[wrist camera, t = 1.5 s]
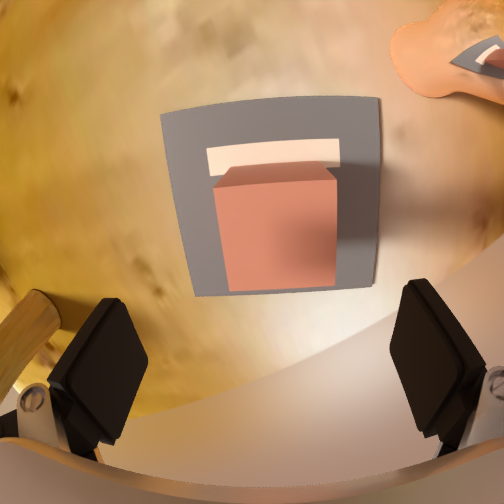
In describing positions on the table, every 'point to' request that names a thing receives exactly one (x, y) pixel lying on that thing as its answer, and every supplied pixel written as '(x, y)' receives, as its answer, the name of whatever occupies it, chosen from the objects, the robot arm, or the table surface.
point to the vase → (25, 335)
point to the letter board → (276, 151)
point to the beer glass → (454, 50)
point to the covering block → (278, 225)
